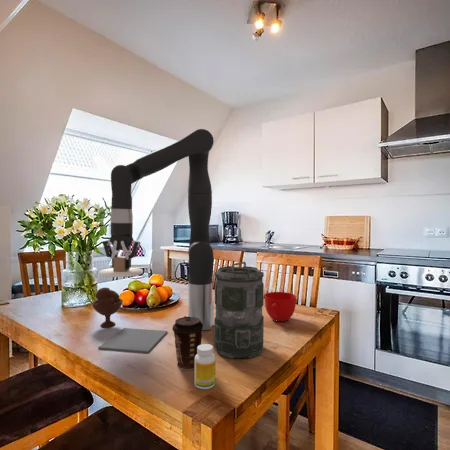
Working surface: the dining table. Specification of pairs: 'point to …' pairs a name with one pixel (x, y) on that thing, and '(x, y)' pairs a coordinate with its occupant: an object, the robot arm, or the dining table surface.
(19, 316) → the dining table surface
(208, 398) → the dining table surface
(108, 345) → the mat
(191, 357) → the coffee cup
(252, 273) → the canister
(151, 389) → the dining table surface
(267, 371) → the dining table surface
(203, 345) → the supplement bottle
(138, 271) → the lid
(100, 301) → the ice cream bowl
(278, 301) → the ceramic cup
